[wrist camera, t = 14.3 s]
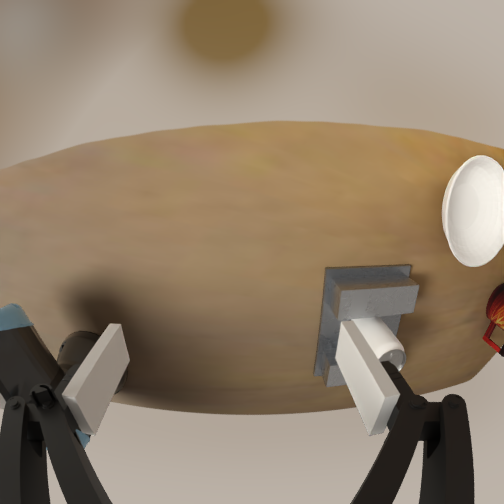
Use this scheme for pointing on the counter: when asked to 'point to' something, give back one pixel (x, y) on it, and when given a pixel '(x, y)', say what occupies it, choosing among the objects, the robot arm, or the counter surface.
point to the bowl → (475, 211)
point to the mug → (495, 316)
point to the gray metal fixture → (360, 307)
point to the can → (382, 340)
